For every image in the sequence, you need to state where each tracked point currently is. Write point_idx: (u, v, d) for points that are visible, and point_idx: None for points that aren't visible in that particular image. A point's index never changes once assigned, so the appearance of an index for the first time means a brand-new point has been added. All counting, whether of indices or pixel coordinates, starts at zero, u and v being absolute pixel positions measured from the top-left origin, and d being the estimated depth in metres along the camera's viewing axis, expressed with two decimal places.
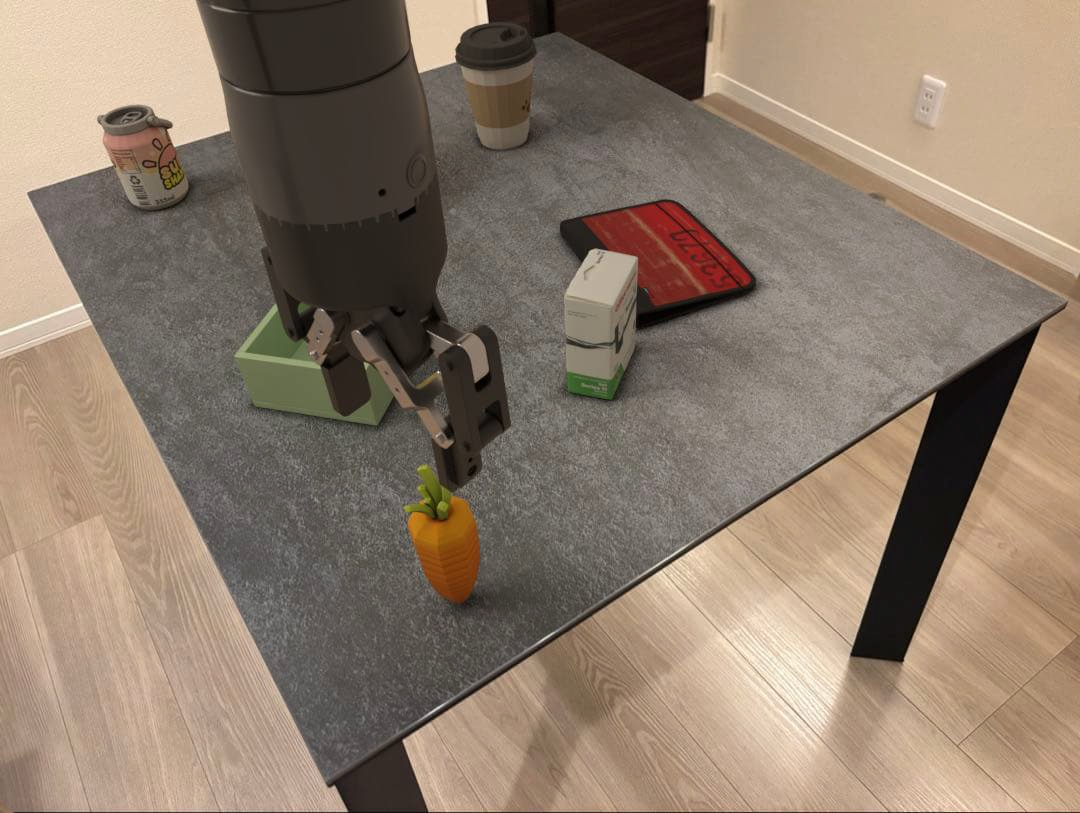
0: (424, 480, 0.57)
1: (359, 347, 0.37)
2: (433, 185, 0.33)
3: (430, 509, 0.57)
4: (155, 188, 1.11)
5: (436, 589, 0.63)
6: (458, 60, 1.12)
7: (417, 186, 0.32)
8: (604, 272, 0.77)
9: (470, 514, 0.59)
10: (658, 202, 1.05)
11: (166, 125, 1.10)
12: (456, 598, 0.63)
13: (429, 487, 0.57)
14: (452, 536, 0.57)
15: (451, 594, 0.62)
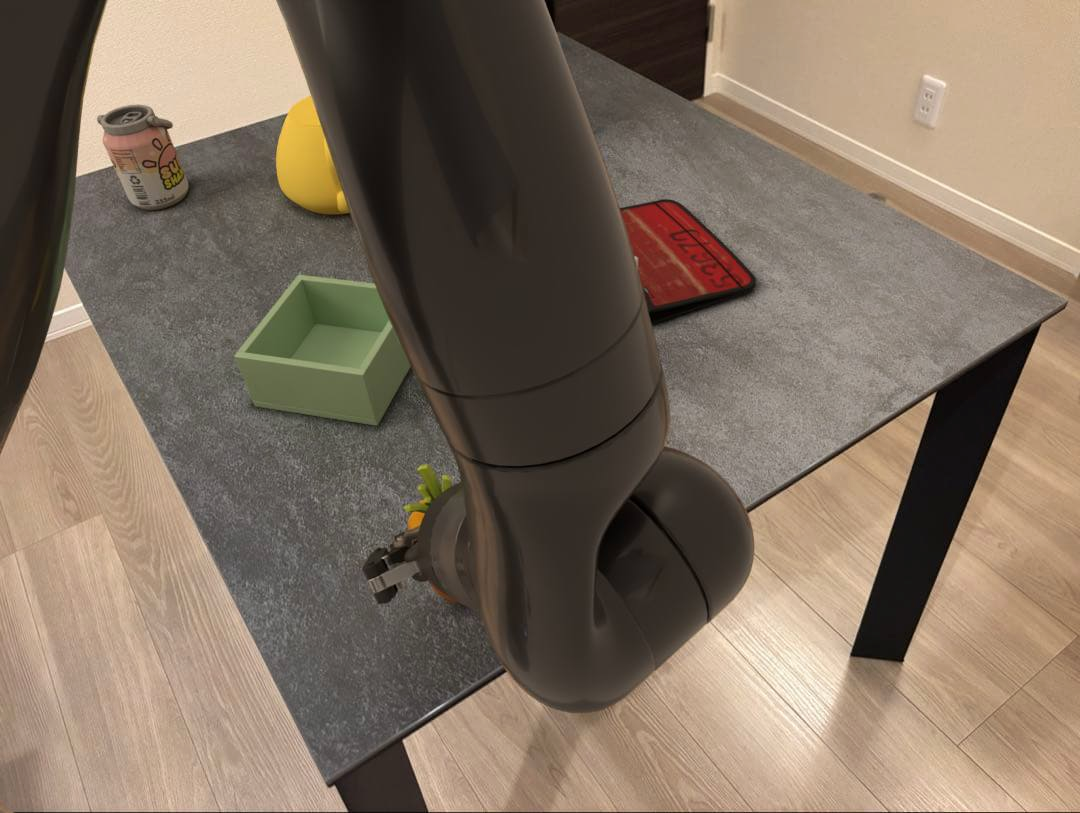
0: (424, 480, 0.57)
1: None
2: (458, 601, 0.46)
3: None
4: (155, 188, 1.11)
5: (436, 589, 0.63)
6: None
7: (443, 587, 0.45)
8: None
9: None
10: (658, 202, 1.05)
11: (166, 125, 1.10)
12: None
13: (429, 487, 0.57)
14: None
15: None
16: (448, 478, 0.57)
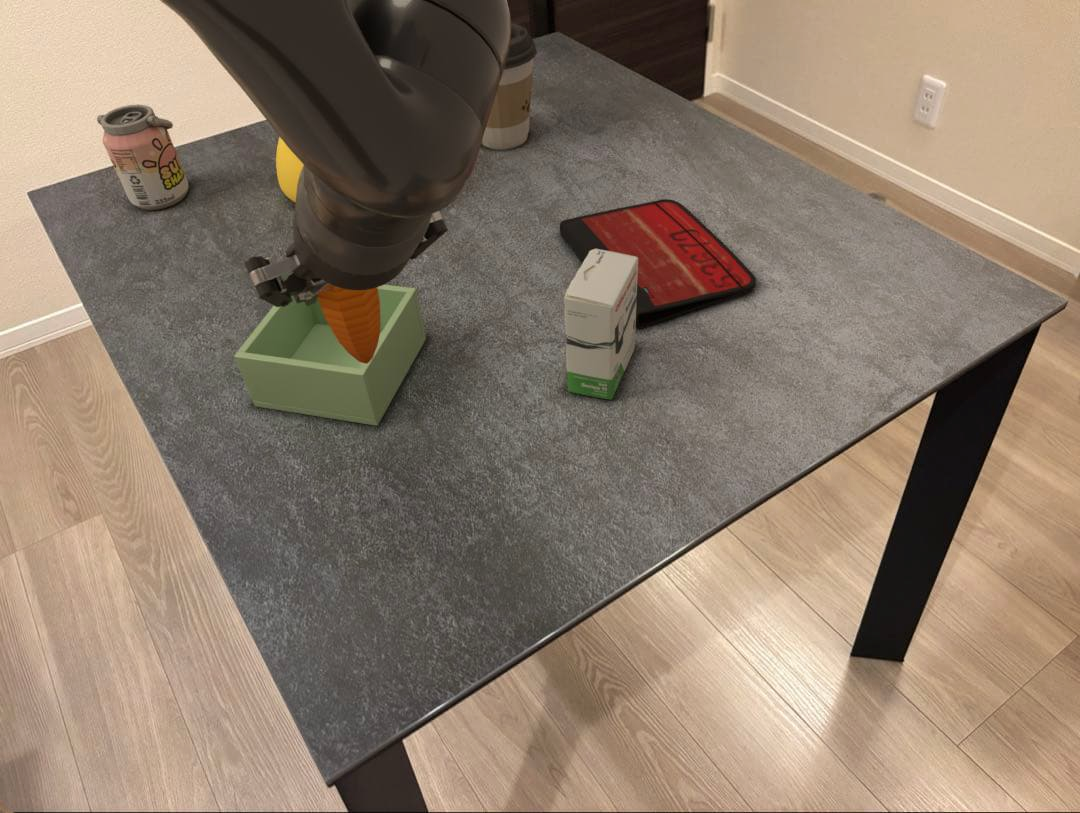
0: None
1: None
2: (323, 262, 0.48)
3: None
4: (155, 188, 1.11)
5: (338, 337, 0.64)
6: None
7: (306, 242, 0.47)
8: (604, 272, 0.77)
9: None
10: (658, 202, 1.05)
11: (166, 125, 1.10)
12: (358, 349, 0.65)
13: None
14: None
15: (352, 340, 0.64)
16: None
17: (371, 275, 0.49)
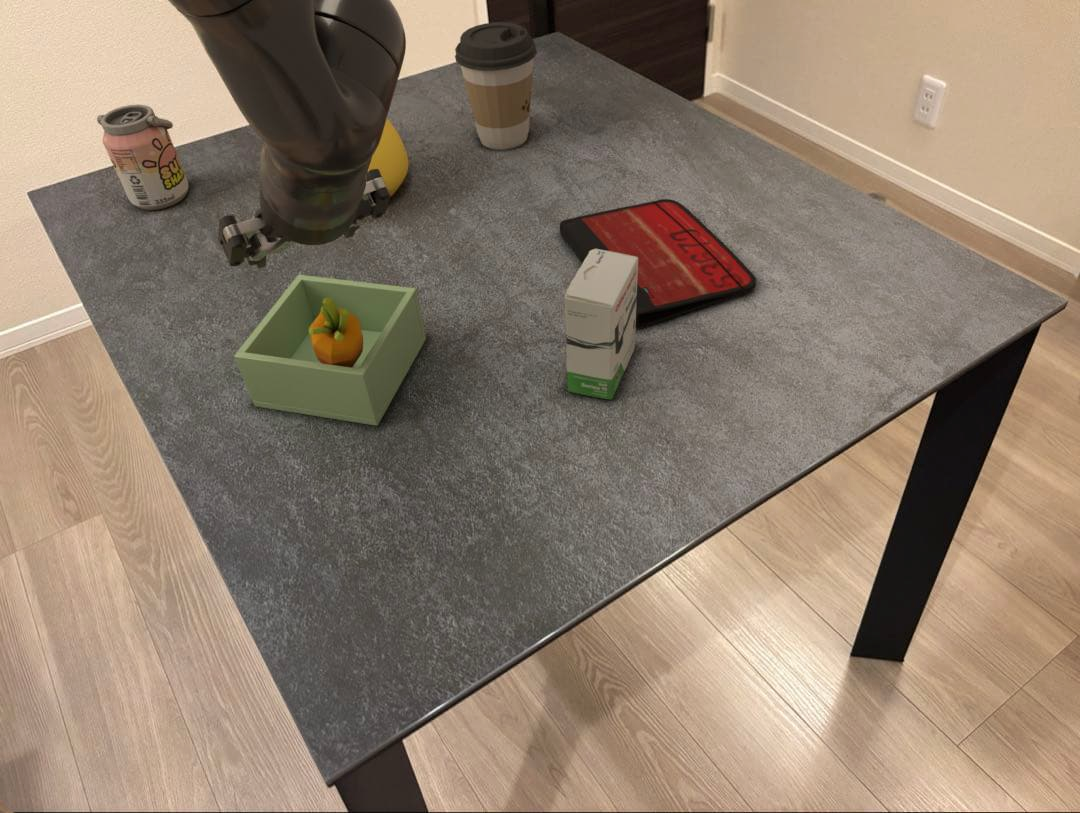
0: (327, 309, 0.73)
1: None
2: (282, 220, 0.61)
3: (329, 330, 0.74)
4: (155, 188, 1.11)
5: None
6: (458, 60, 1.12)
7: (268, 203, 0.60)
8: (604, 272, 0.77)
9: (359, 332, 0.76)
10: (658, 202, 1.05)
11: (166, 125, 1.10)
12: None
13: (330, 314, 0.73)
14: (343, 350, 0.75)
15: None
16: (346, 312, 0.73)
17: (320, 231, 0.62)
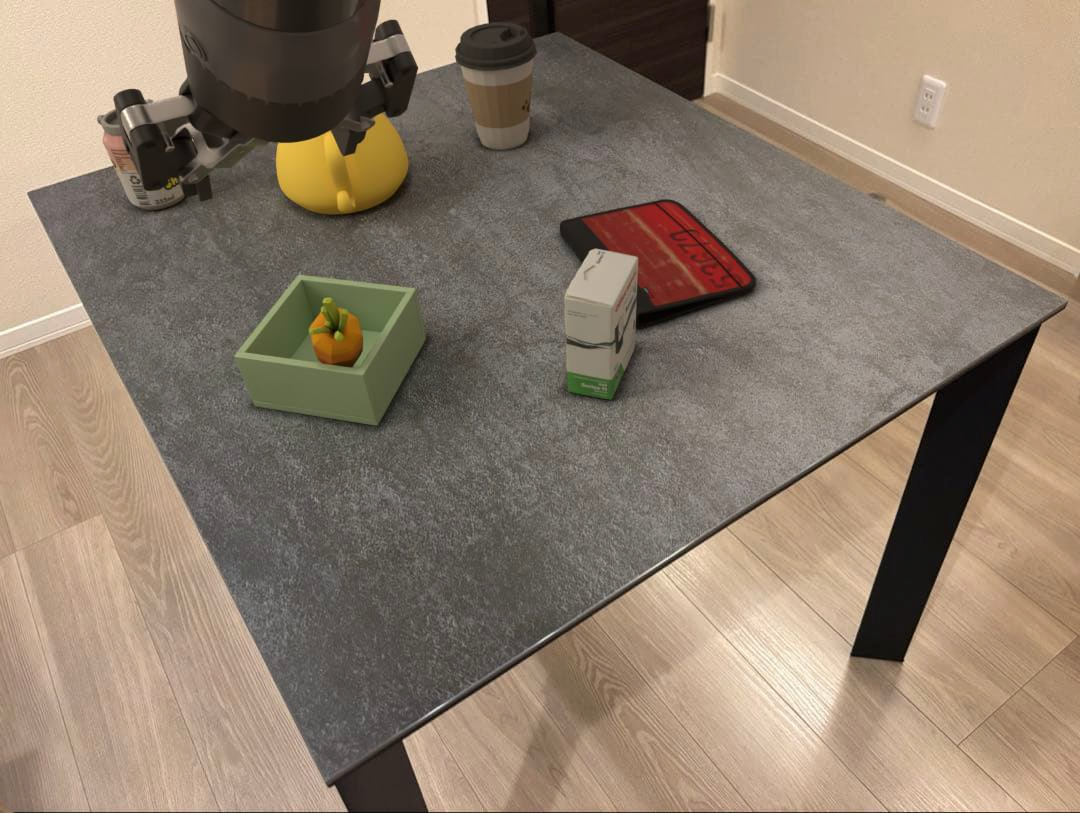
0: (327, 309, 0.73)
1: None
2: (219, 82, 0.32)
3: (329, 330, 0.74)
4: None
5: None
6: (458, 60, 1.12)
7: None
8: (604, 272, 0.77)
9: (359, 332, 0.76)
10: (658, 202, 1.05)
11: None
12: None
13: (330, 314, 0.73)
14: (343, 350, 0.75)
15: None
16: (346, 313, 0.73)
17: (292, 105, 0.33)
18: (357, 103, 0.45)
